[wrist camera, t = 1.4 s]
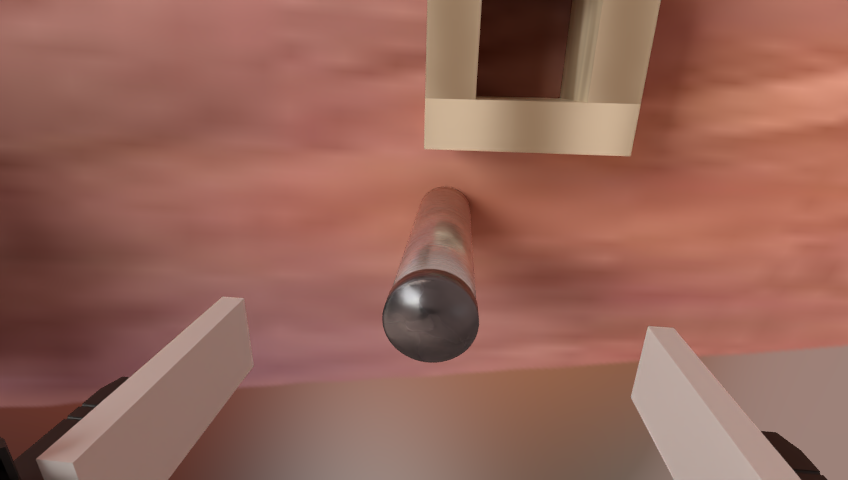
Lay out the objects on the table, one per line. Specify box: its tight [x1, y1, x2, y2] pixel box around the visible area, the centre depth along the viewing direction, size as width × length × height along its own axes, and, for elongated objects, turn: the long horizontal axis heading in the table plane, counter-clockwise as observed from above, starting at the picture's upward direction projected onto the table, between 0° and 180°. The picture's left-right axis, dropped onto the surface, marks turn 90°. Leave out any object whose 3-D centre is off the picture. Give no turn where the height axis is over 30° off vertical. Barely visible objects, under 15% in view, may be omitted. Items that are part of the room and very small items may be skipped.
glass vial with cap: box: [382, 187, 479, 362], centre depth 22 cm, size 4×4×14 cm
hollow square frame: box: [424, 0, 661, 156], centre depth 22 cm, size 10×10×6 cm
